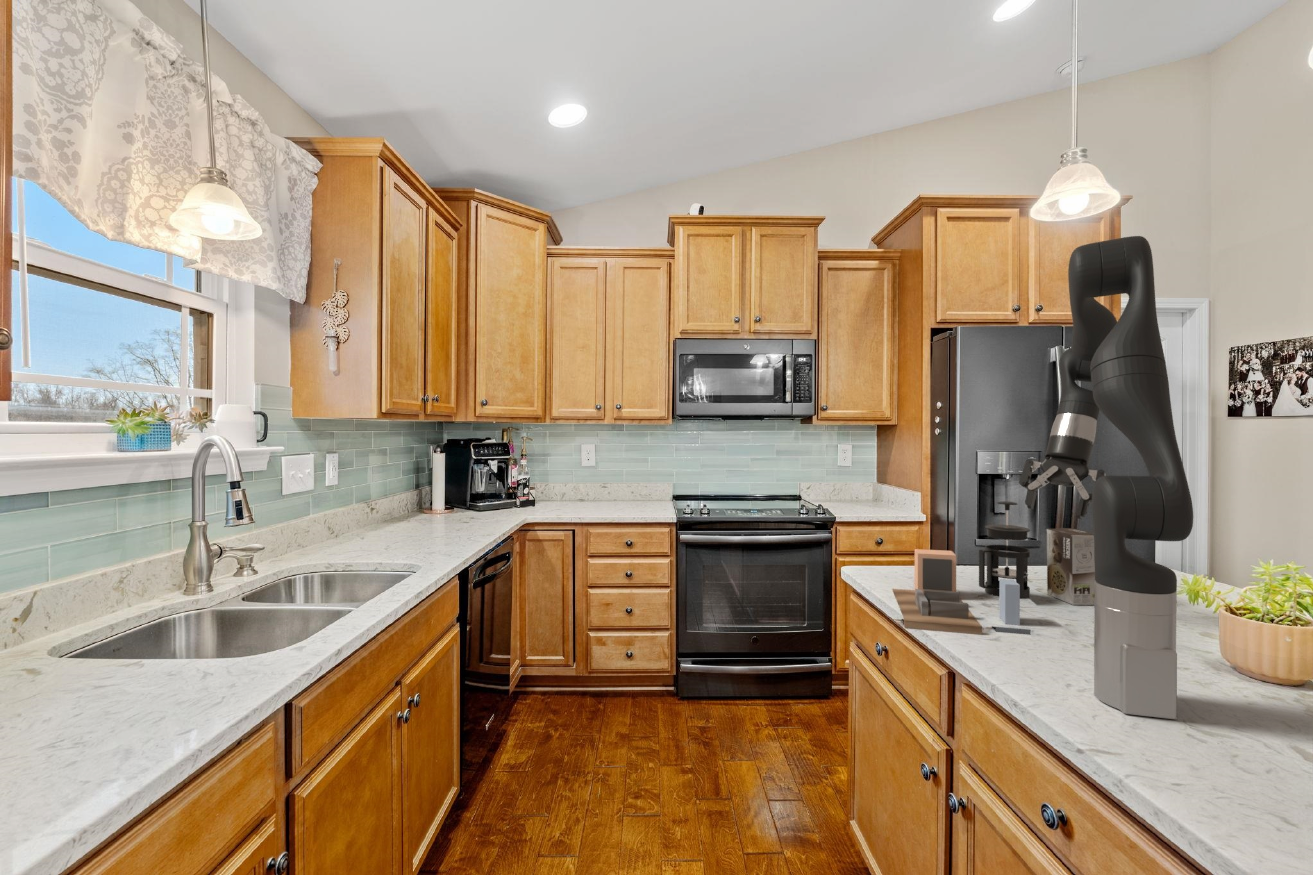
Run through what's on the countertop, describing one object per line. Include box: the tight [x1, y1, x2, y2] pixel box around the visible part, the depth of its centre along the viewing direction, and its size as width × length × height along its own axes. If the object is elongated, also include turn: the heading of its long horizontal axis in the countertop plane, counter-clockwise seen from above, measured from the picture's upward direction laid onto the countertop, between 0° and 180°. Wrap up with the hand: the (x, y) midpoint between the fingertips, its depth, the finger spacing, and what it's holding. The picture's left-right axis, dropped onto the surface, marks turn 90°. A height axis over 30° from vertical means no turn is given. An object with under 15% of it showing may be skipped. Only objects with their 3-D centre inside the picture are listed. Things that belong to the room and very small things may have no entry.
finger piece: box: [991, 578, 1032, 636], centre depth 115 cm, size 5×6×10 cm
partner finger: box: [914, 548, 957, 593], centre depth 133 cm, size 6×8×10 cm
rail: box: [891, 588, 983, 635], centre depth 126 cm, size 24×14×4 cm, turn 163°
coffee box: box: [1046, 527, 1095, 606], centre depth 134 cm, size 9×6×16 cm
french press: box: [978, 500, 1031, 600], centre depth 135 cm, size 12×9×23 cm
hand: (1053, 513), depth 119 cm, fingers open, 8 cm apart
